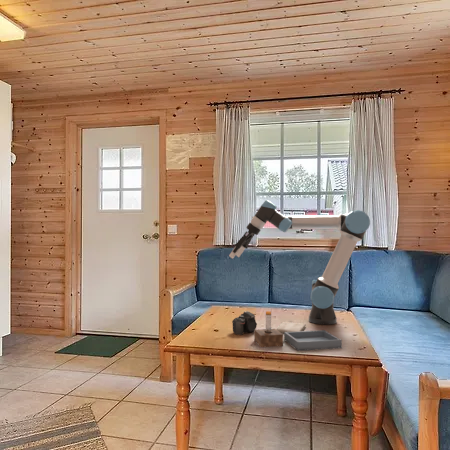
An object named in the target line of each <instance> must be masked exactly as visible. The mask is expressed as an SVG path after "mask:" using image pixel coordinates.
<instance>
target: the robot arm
mask: <svg viewBox="0 0 450 450" xmlns="http://www.w3.org/2000/svg"><path fill="white" fill-rule="evenodd" d="M267 222H268V223H270V224H271V225H273V226H274V227H275V228H277V229H278V230H279V231H281V232H283V233H287V232H288V231H289V230H338V231H339V232H340V237H339V239H338V241H337V243H336V245H335V248H334V250H333V252H332V254H331V256H330V258H329V260H328V263H327V265H326V267H325V270H324V271H323V273H322V275H321V276H320V277H317V279H313V280H312V281H311V292H310V295H309V296H310V297H309V298H310V301H311V309H310V312H309V315H308V322H309V323H312V324H317V325H335V324H337V323H338V321H337V320H338V318H337V315H336V313H335V309H334V301H335V297H336V295H337V293H338V291H339V288H340V287H339V281H340V279H341V277H342V275H343V273H344V271H345V269H346V267H347V265H348V263H349V261H350V258H351V256H352V254H353V252H354V250H355V248H356V245H358V244H357V243H359V242H362V241H363V239H364V236H365V234H366V232H367V230H368V229H369V228H370V225H371V220H370V217H369V215H368V214H367V213H366V212H365V211H363V210H360V209H354V210H352V211H349V212H348V213H339V214H338V215H284V214H282V213H281V212H279V211H278V210H277V205H276V204H274V203H273V202H271V201H270V200H268V199H267V200H264V202H263V203H262V204H261V205H260V206H259V208H258V210H257V211H256V213H255V214H254V215H253V216H251V220H250V222H249V223H248V224H247V225H246V230H248V231H245V232H244V234H242V236H241V238H239V240H238V241H237V242H236V243H235V244H234V248H233V249H232V251H231V252H230V253H229V255H228V256H229V258H231V259H234V258H235V257H238V258H240V257H241V255H242V254H243V253H244V251H245V249H248V246H249V245H250V243H251V242H252V240H253V238H254V237H255V235H256V236H257V235H259V234H260V232H261V230H262V229H263V228H264V227H265V225H266V224H267Z"/></svg>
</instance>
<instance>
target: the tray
mask: <svg viewBox="0 0 450 450" xmlns="http://www.w3.org/2000/svg"><path fill="white" fill-rule="evenodd" d="M283 341H285V343H286V342H287V343H288V344H289V345H290V346H291V347H293V348H294V349H295V350H296V351H298V352H299V351H316V350H315V349H318V350H332V349H333V348H335V349H342V348H343V347H342V345H343V340H342V339H341V338H339V337H337V336H336V335H333V334H332V333H330V332H329V331H327V330H325V329H324V330H323V329H322V330H303V331H298V332H284V334H283ZM333 350H334V349H333Z"/></svg>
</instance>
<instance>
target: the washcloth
mask: <svg viewBox="0 0 450 450" xmlns="http://www.w3.org/2000/svg"><path fill="white" fill-rule="evenodd" d="M306 326H307V324H306V323H303V322H300V323H299V322H293V321H283V322H281V323H280V324H279V325H278V326H277V327H276V328H275V329H276V330H278V331H279V332H280V333H282V334H283V335H284V332H298V331H305V329H306V328H307V327H306Z"/></svg>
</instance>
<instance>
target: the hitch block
mask: <svg viewBox="0 0 450 450" xmlns="http://www.w3.org/2000/svg"><path fill="white" fill-rule="evenodd" d="M276 329H277V328H271V333H266V328H260V329H255V330H254V331H253V332H254V333H253V334H254V335H253V336H254V337H253V338H254V339H253V340H254V342H255V343H256V344H257V345H258V346H259V348H273V347H275V348H276V347H283V346H284V334H283V333H280V332H279V331H278V330H276Z"/></svg>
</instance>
